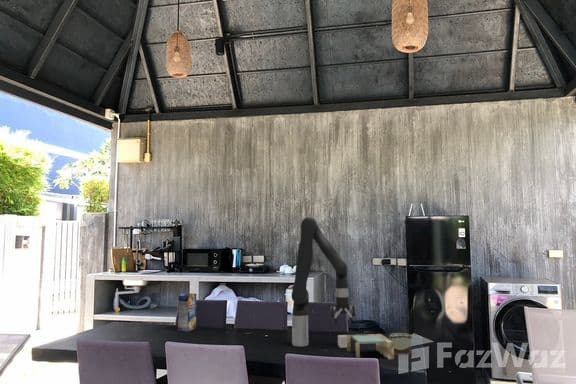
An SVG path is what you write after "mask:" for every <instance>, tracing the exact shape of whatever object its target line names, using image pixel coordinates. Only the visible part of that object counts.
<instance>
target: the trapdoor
mask: <svg viewBox="0 0 576 384" xmlns="http://www.w3.org/2000/svg"><path fill="white" fill-rule="evenodd" d="M369 335H370V334H369ZM351 339H353V340H354V341H355V342H359V345H360V344H361V345H362V344H363V345H364V344H366V345H367V344H376V343H385V340H383V339H382V338H380V337H379V336H377V335H370V336H352V338H351Z"/></svg>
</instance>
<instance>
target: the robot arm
mask: <svg viewBox="0 0 576 384" xmlns="http://www.w3.org/2000/svg"><path fill="white" fill-rule="evenodd" d="M300 223H301V224H300V241H299V245H298V249H297V255H296V263H295V275H294V282H293V287H292V290H291V296H290V297H291V300H292V301H293V308H292V327H291V345H292V346H293V347H307V346H308V345H309V309H310V308H309V306H310V305H309V304H310V303H309V301H310V300H309V298H310V297H309V294H310V293H309V291H308V289H307V285H308V278H309V275H310V272H311V268H312V264H313V254H314V253H313V251H314V248H313V240H314V241H315V243H316V245H317V246H318V249H320V251H321V253H323V255H324V257H325V258H326V259H327V260H328V261H329V262H330V264H331V266H332V268H333V269H334V270H335V306H330V317H331V318H333V324H334V325H335V326H337V325H338V318H337V317H338V316H339V315H343V314H344V315H346V314H347V315H348V316H349V317H348V321H349V322H348V323H349V325H352V324H353V318H354V317H356V309H355V308H356V307H355V306H354V304H353V305H350V299H349V297H350V295H349V294H350V293H349V283H348V265H347V263H346V262H344V260H343V259H342V258H341V257H340V256H339V254H338V252H337V250H336V249H335V248H334V246H333V244H331V243H330V241H329V240H328V239H327V237H326V236H325V235H324V234H323V232H322V231H321V229H320V226H319V225H318V222H317V221H316V220H315V218H312V217H305V218H303V219H302V221H301V222H300ZM335 310H336V312H335V314H334V311H335ZM349 310H351V312H350V311H349Z"/></svg>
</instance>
